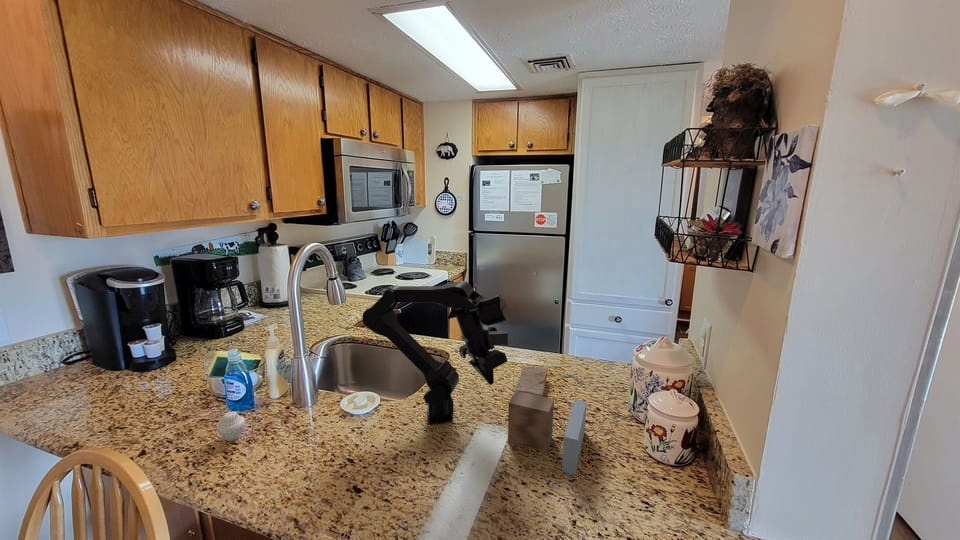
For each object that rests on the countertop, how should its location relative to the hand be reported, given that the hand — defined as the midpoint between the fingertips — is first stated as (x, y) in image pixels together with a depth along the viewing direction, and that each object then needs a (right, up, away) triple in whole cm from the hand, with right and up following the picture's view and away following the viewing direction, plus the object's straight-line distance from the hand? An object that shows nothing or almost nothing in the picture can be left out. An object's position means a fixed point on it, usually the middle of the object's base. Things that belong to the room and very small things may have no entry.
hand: (491, 383), depth 99 cm
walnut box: (+10, -13, -3) cm, 17 cm away
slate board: (+20, -14, -7) cm, 25 cm away
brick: (+13, -9, +20) cm, 25 cm away
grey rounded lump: (-67, -13, -2) cm, 68 cm away
